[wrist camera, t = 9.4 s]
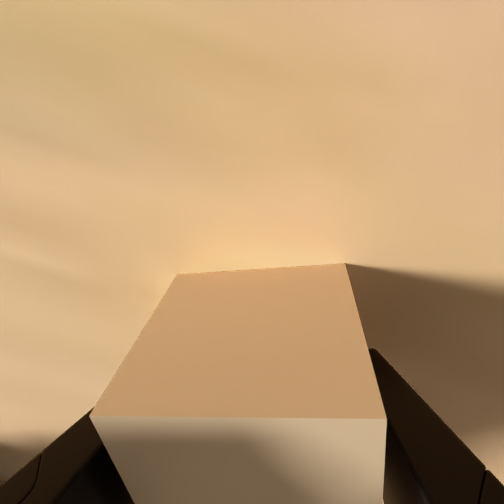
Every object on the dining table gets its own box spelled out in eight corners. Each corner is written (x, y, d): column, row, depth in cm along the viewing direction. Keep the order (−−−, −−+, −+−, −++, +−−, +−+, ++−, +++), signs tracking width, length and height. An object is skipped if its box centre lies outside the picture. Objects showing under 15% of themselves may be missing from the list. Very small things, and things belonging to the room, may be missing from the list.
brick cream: (347, 387, 10) (378, 574, 6) (209, 388, 11) (162, 556, 7) (344, 261, 9) (387, 418, 5) (177, 272, 9) (88, 416, 5)
